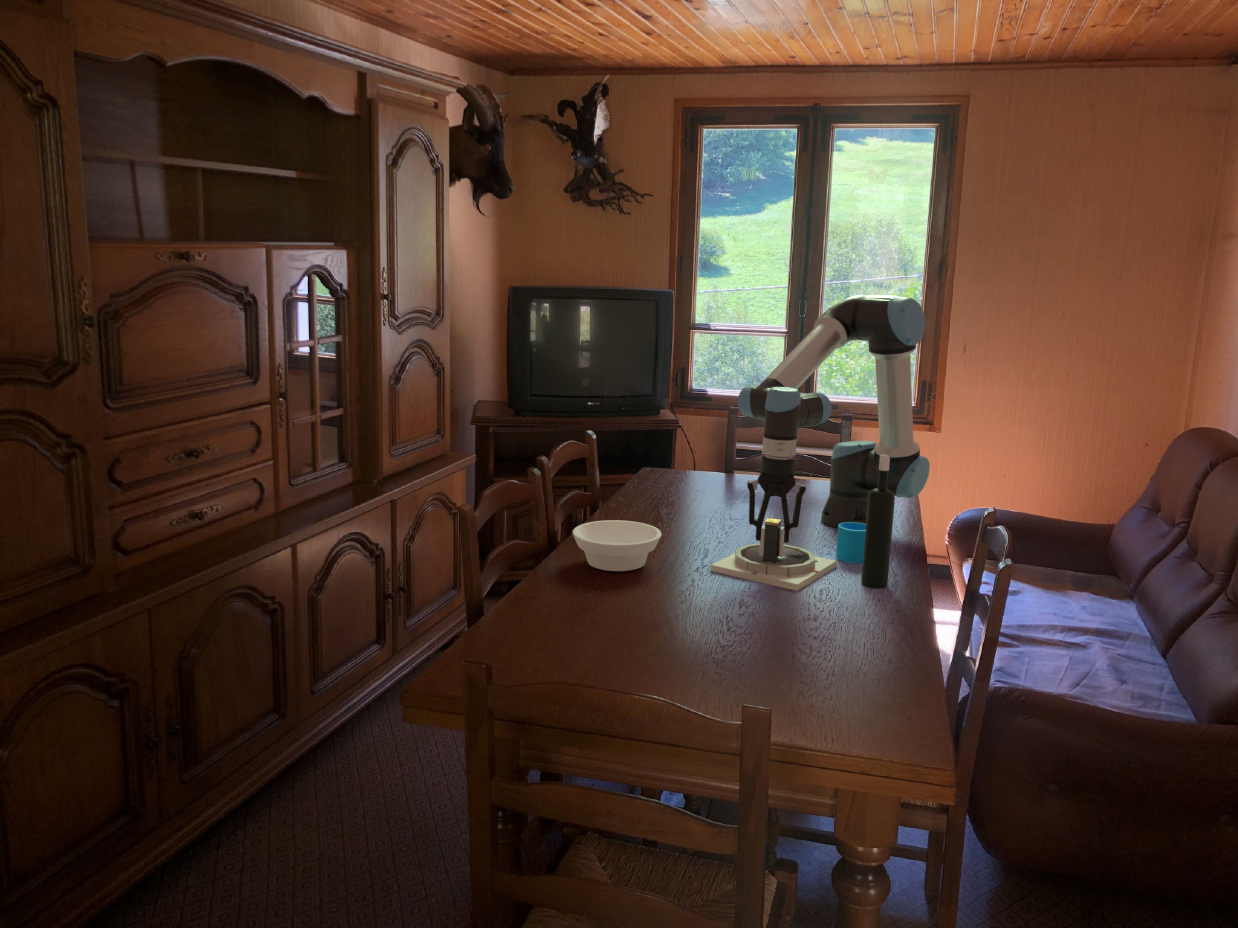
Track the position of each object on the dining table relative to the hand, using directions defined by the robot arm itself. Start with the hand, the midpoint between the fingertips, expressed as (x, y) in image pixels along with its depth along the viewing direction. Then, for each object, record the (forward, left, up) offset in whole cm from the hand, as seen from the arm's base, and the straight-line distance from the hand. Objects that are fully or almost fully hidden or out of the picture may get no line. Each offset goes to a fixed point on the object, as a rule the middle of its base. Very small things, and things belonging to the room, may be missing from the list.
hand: (770, 554), depth 222 cm
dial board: (-5, -1, -5) cm, 7 cm away
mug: (-27, +10, -5) cm, 29 cm away
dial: (-5, -1, -3) cm, 5 cm away
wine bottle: (-9, +22, -5) cm, 24 cm away
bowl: (+16, -32, -5) cm, 36 cm away
